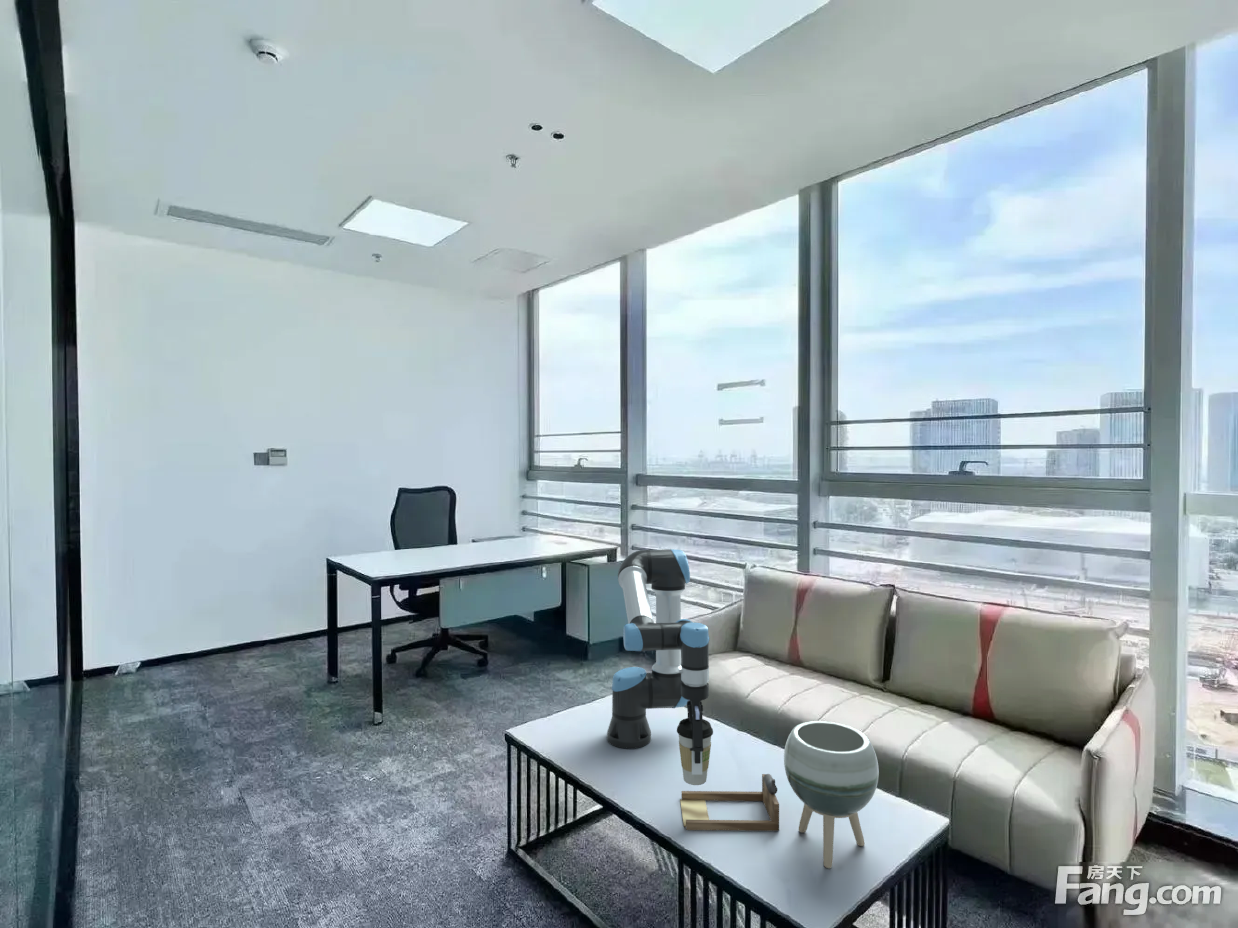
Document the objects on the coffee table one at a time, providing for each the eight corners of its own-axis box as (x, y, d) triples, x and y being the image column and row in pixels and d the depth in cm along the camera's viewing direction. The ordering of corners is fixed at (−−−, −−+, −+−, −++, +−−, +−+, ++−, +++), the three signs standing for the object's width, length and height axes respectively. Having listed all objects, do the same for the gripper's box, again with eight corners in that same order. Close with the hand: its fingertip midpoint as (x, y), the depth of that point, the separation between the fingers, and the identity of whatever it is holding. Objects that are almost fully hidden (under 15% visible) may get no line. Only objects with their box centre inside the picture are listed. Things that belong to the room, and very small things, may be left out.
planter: (826, 888, 138) (826, 765, 138) (765, 833, 158) (765, 725, 158) (899, 862, 147) (899, 746, 147) (832, 813, 167) (832, 711, 167)
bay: (679, 797, 175) (679, 758, 175) (768, 798, 174) (768, 758, 174) (684, 829, 160) (684, 786, 160) (781, 830, 159) (781, 787, 159)
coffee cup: (712, 790, 161) (712, 733, 161) (674, 786, 163) (674, 730, 163) (714, 771, 171) (714, 718, 171) (678, 768, 173) (678, 715, 173)
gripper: (677, 667, 178) (677, 744, 178) (684, 697, 156) (684, 785, 156) (703, 667, 178) (703, 744, 178) (714, 697, 156) (714, 785, 156)
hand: (694, 763), depth 167 cm, fingers closed on coffee cup, 10 cm apart
